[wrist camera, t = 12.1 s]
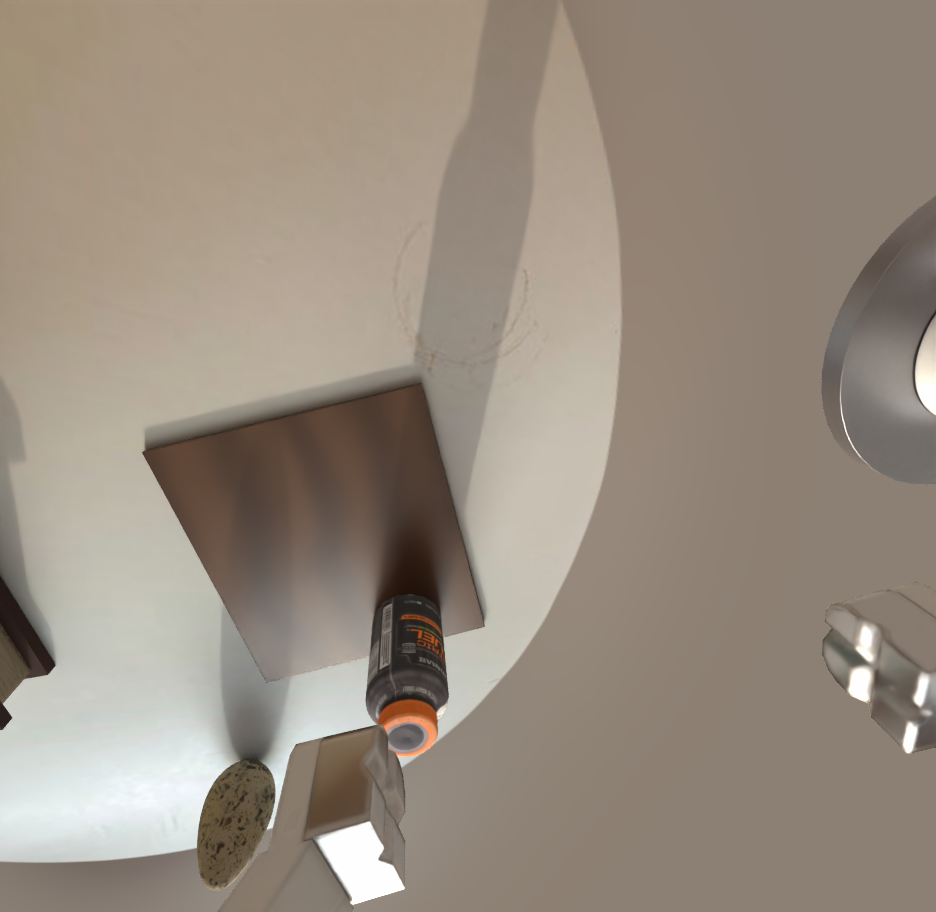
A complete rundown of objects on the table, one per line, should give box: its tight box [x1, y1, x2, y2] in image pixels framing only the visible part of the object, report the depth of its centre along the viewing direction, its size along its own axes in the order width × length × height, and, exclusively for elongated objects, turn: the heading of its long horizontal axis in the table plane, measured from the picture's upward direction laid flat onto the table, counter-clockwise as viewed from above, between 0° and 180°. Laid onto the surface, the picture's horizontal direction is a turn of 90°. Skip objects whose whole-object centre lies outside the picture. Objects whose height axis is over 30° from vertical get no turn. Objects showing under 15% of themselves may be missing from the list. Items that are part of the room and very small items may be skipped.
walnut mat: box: [142, 383, 485, 683], centre depth 39 cm, size 20×23×1 cm
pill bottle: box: [366, 594, 449, 757], centre depth 37 cm, size 6×6×11 cm
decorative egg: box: [197, 760, 275, 890], centre depth 43 cm, size 6×6×10 cm
